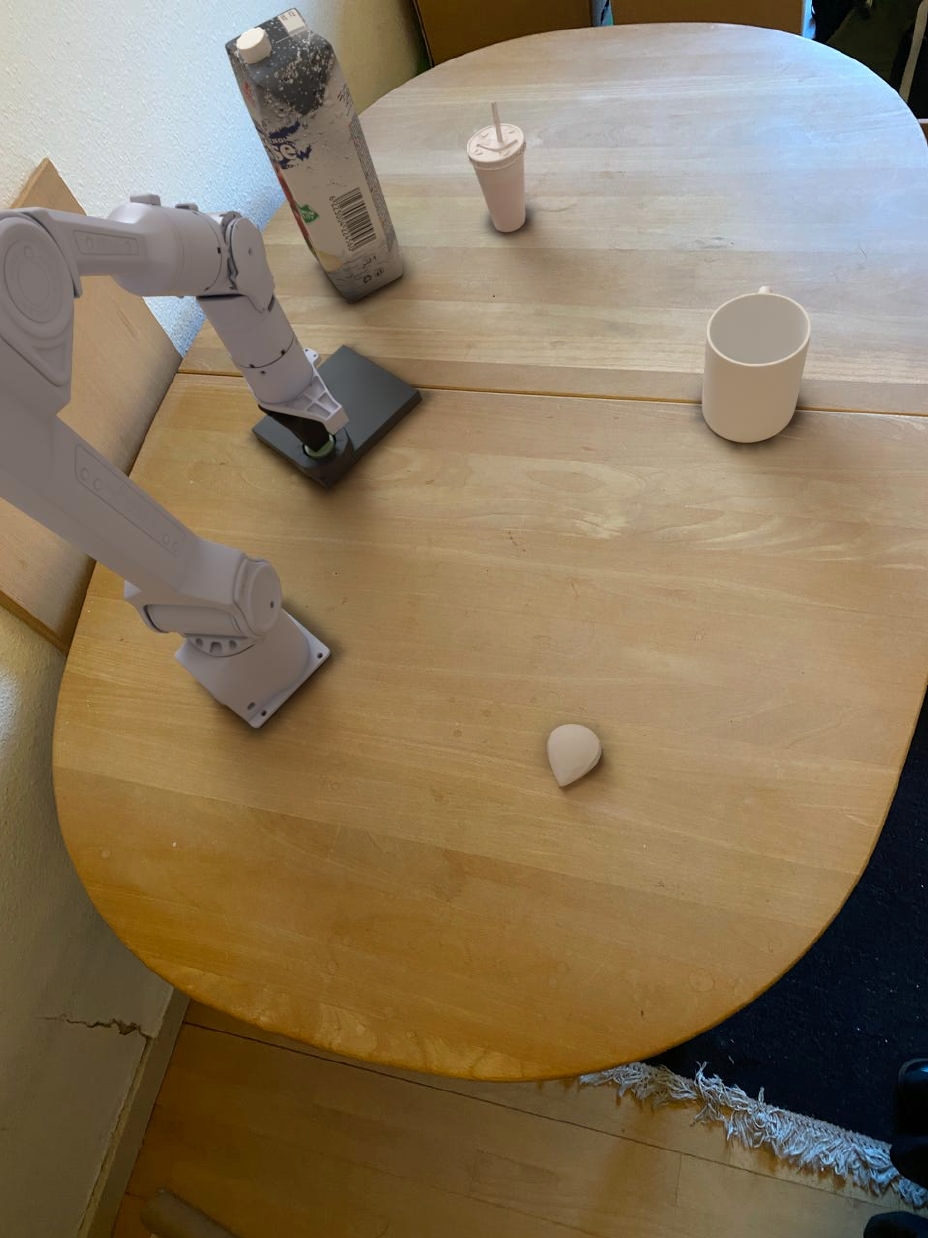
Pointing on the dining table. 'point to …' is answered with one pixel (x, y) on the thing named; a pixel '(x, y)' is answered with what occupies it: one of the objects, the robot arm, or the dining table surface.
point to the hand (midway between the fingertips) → (319, 443)
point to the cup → (754, 365)
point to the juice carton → (317, 150)
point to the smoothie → (500, 171)
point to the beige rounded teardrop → (572, 752)
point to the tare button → (322, 449)
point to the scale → (368, 405)
